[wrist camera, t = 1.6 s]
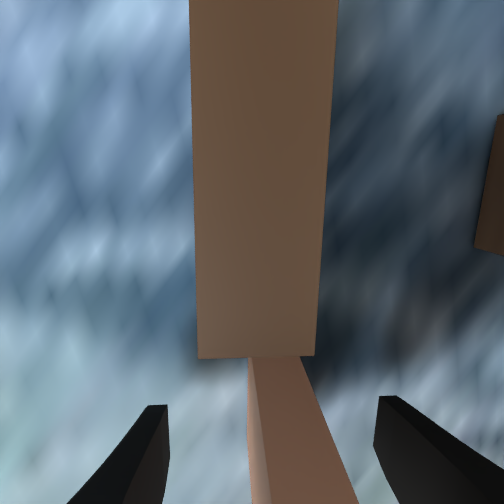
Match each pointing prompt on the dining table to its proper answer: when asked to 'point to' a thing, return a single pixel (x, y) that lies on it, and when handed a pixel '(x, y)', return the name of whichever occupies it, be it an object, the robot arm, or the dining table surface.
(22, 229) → the dining table surface
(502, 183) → the domino
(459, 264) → the dining table surface
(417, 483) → the robot arm
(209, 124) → the domino
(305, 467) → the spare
